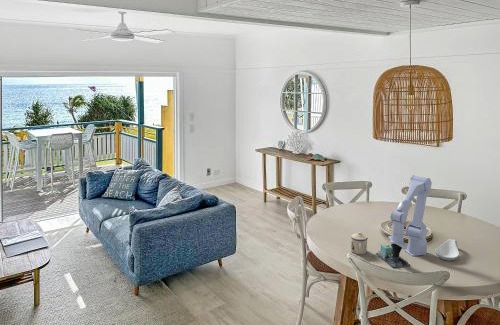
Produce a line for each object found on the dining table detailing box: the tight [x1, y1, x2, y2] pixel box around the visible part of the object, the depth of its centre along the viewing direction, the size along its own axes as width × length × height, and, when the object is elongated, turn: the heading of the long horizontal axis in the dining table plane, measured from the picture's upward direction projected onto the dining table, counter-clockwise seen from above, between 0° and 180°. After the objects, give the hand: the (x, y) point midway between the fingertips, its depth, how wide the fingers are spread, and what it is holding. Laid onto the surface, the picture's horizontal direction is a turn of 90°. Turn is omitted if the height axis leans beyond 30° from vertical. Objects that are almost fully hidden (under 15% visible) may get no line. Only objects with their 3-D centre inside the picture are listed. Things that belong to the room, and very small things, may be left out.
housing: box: [380, 243, 392, 255], centre depth 219 cm, size 5×5×5 cm
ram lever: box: [388, 248, 399, 261], centre depth 214 cm, size 4×6×6 cm, turn 12°
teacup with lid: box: [350, 231, 369, 255], centre depth 224 cm, size 12×9×12 cm
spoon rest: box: [434, 238, 460, 261], centre depth 220 cm, size 24×12×7 cm, turn 143°
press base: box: [375, 250, 411, 269], centre depth 215 cm, size 10×18×2 cm, turn 11°
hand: (396, 256), depth 211 cm, fingers closed
